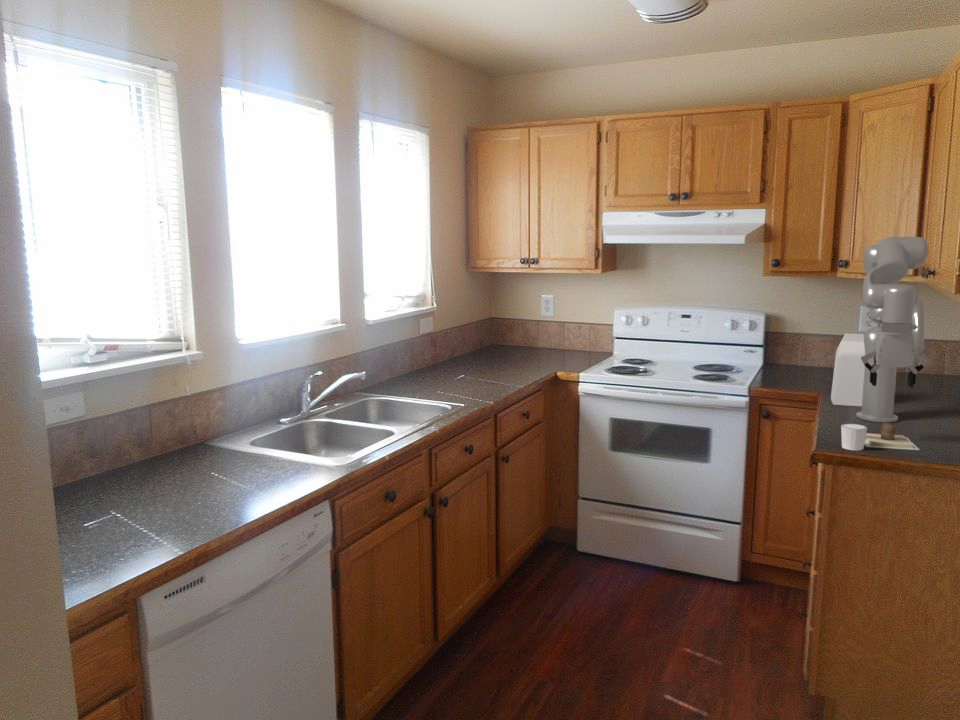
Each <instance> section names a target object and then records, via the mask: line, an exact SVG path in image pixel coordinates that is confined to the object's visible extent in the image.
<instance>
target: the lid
mask: <svg viewBox="0 0 960 720" xmlns="http://www.w3.org/2000/svg"><path fill="white" fill-rule="evenodd" d="M880 429H881V430H880V431H881V432H880V433H873V432H872V433H869V432H866V438H865V439H866V440H867V442H868V443H869V444H870V445H871V446H884V447H900V448H913V444H914V443H913V442H912V441H911V440H910V439H909V438H908V437H907V436H905V435H903V434H895V433H896V432H895V430H896V424H895V423H893V422H881V428H880ZM906 437H907V438H908V439H909V440H910V441H911V442H912V443H913V444H912V443H911V442H910V441H909V440H908V439H907V438H906Z"/></svg>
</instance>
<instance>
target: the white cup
mask: <svg viewBox="0 0 960 720" xmlns="http://www.w3.org/2000/svg"><path fill="white" fill-rule="evenodd" d="M840 430H841V432H840V433H841V448H842V449H845V450H847V451H848V450H849V451H863V450H864V449H865V445H864V443H865V438H866V433H868V427H867V426H866V425H862V424H858V423H844V424H841V425H840Z"/></svg>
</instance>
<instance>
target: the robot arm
mask: <svg viewBox="0 0 960 720" xmlns="http://www.w3.org/2000/svg"><path fill="white" fill-rule="evenodd" d="M928 256H929V244H928V242H927V240H926V239H925V238H923V237H921V236H891V237H886V238H883V239H882V240H880V241H879V242H878V244H873V245H869V246H867V248H865V250H864V251H863V256H862V257H863V258H862V259H863V270H864V272H865V275H866V276H865V278H864V280H863V283H862V299H863V304H864V306H865V307H867V308H868V309H869V318H870V321H871V322H872V323H874V324H877V325H878V324H879V325H881V326H873V327H870V328H868V329H867V330H865V332H864V333H863V335H864V348H865V356H862V357H861V360H862V362H863V363H864V366H865V370H864V384H863V397H862V406H861V410H860V411H857V412H856V414H855V417H856V418H858V419H860V420H863V421H868V422H875V423H893V422H894V423H895V422H897V421H899V416H898V415H897V414H894V409H895V408H894V407H895V394H896V385H897V384H896V383H897V368H906V369H908V370H909V372H908V375H907V387H910V388H914V385H915V384H916V377H917V374H918V373H919V372H921V371H922V370H923V369H924V367H925V366H926V365H927V363H928V361H929V359H928V358H925V357H923V356H922V355H921V354H922V353H923V351H924V347H925V308H924V307H925V306H924V303H923V301H922V299H920V298H918V297H919V296H918V294H919V293H918V290H917V289H916V288H915V286H913V285H910V284H902V283H901V284H899V282H898V281H900V280H903V278H905V277H906V276H907V275H908V272H909V270H917V269H919V268H921V266H923V264H925V262H926V261H927V259H928ZM915 359H916V360H917V361H919V363H918V364H917V365H916V366H914V365H915Z"/></svg>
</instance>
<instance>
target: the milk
mask: <svg viewBox="0 0 960 720" xmlns="http://www.w3.org/2000/svg"><path fill="white" fill-rule="evenodd" d="M862 356H865V348H864V333H845V334H844V336H843V337H842V339H841V341H840V343H839V344H838V346H837V349H836V351H835V356H834V357H835V358H834V367H833V376H832V385H831V391H830V400H831V403H832V405H835V406H851V407H854V406H855V407H862V397H863V384H864V370H865V366H864V363H863V362H862V360H861V357H862Z"/></svg>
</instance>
